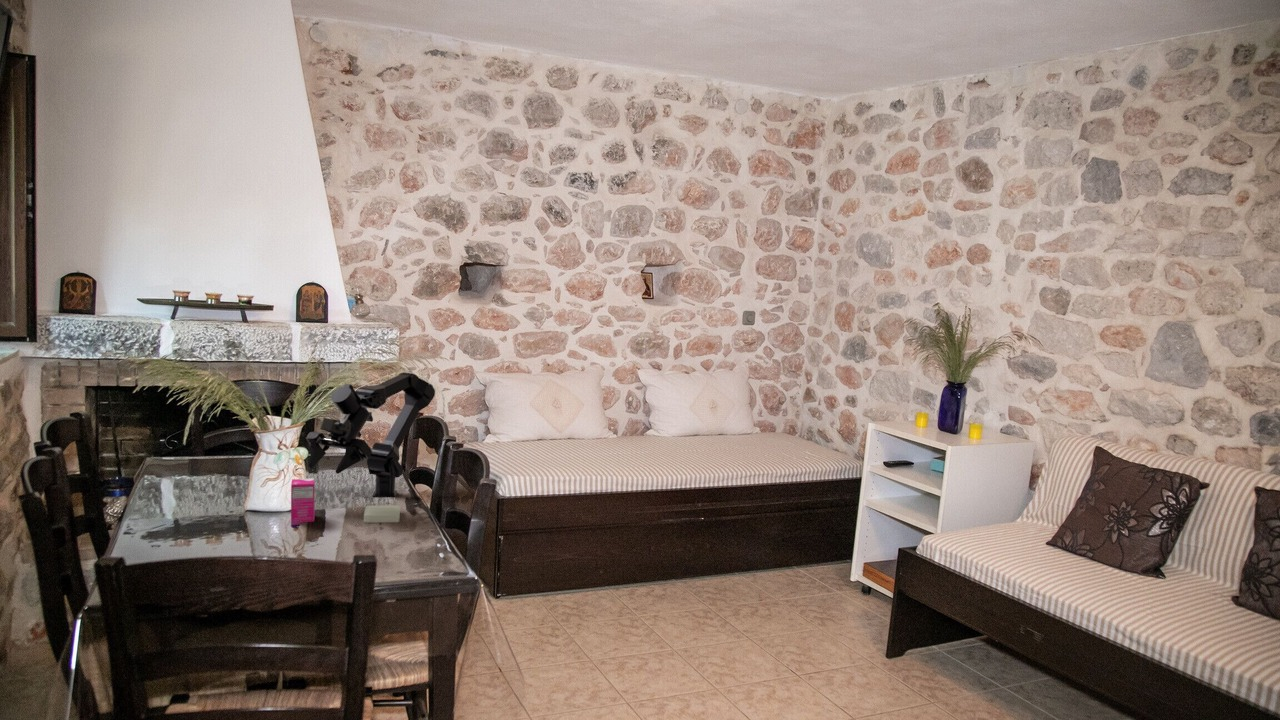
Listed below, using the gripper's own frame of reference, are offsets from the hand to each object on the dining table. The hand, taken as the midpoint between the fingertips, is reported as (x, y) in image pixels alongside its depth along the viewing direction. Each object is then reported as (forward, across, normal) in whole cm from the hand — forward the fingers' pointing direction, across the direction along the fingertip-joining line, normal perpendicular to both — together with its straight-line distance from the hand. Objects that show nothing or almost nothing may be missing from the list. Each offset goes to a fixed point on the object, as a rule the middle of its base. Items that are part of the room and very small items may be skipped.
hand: (322, 470), depth 223 cm
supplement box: (+14, 0, +4) cm, 15 cm away
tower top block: (+5, +16, +12) cm, 20 cm away
